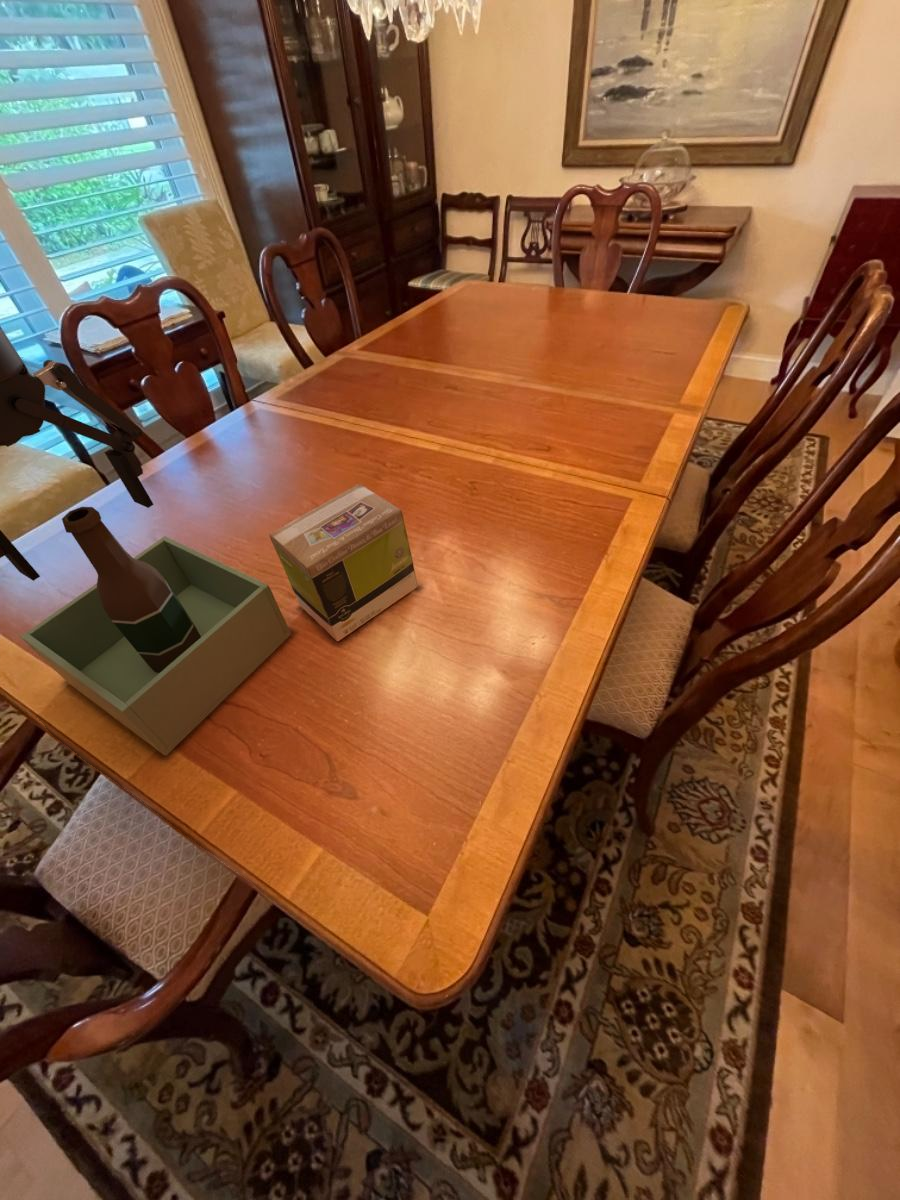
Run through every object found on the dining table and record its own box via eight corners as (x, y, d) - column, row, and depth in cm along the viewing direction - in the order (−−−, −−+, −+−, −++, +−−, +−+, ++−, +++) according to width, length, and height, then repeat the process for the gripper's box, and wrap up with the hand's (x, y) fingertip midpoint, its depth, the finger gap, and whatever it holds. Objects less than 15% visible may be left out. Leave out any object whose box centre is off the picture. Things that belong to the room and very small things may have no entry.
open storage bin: (165, 756, 64) (122, 711, 57) (68, 683, 73) (19, 636, 66) (291, 634, 76) (268, 584, 69) (194, 584, 85) (165, 535, 78)
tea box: (379, 558, 86) (360, 479, 75) (419, 588, 80) (405, 508, 69) (299, 608, 79) (266, 530, 69) (336, 645, 74) (307, 567, 63)
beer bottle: (174, 685, 70) (63, 546, 53) (137, 663, 73) (22, 525, 56) (219, 644, 74) (130, 503, 57) (183, 625, 77) (89, 485, 60)
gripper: (-236, 407, 35) (-9, 624, 50) (108, 288, 48) (203, 486, 64) (-268, 387, 38) (-45, 596, 53) (63, 280, 52) (164, 470, 67)
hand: (91, 536), depth 58 cm, fingers open, 13 cm apart
